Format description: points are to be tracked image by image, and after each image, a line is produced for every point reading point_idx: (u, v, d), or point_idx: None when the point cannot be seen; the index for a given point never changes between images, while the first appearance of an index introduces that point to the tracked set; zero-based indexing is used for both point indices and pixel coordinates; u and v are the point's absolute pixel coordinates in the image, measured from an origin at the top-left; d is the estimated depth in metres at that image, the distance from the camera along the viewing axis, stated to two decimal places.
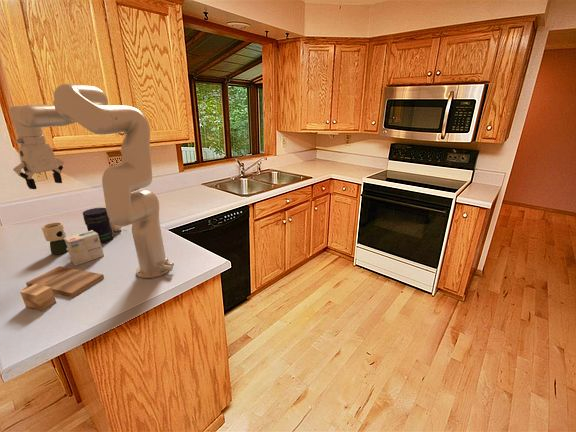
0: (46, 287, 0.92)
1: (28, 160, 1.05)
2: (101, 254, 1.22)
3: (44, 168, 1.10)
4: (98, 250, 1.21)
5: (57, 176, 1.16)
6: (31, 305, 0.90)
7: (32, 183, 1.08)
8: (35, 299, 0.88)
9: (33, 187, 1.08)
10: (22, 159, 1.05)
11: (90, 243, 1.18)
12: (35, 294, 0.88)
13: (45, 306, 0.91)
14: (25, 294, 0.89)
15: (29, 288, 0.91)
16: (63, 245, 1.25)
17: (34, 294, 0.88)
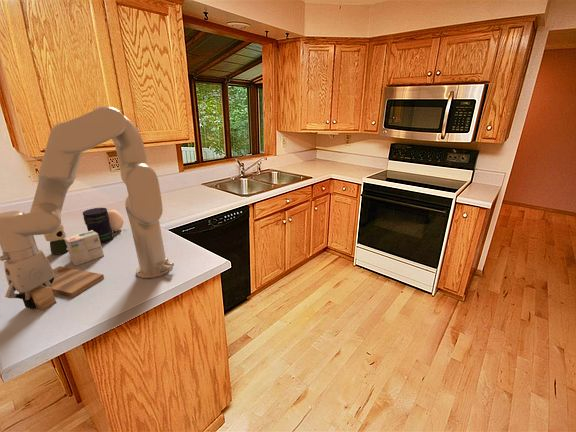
0: (46, 287, 0.91)
1: (16, 280, 0.83)
2: (101, 254, 1.22)
3: (36, 283, 0.88)
4: (98, 250, 1.21)
5: None
6: None
7: (31, 303, 0.89)
8: (35, 299, 0.88)
9: (32, 307, 0.89)
10: (8, 278, 0.84)
11: (90, 243, 1.18)
12: (35, 294, 0.88)
13: (45, 306, 0.90)
14: None
15: None
16: (63, 245, 1.25)
17: (34, 294, 0.88)
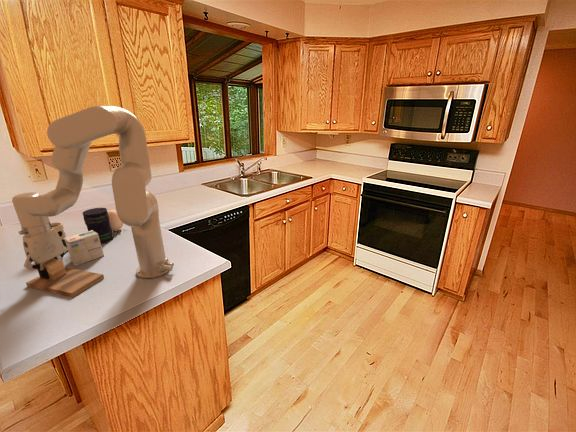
0: (58, 260, 1.05)
1: (33, 251, 0.97)
2: (101, 254, 1.22)
3: (50, 256, 1.01)
4: (98, 250, 1.21)
5: None
6: None
7: (45, 273, 1.02)
8: (48, 269, 1.02)
9: (46, 277, 1.02)
10: (26, 250, 0.97)
11: (90, 243, 1.18)
12: (48, 265, 1.01)
13: (57, 276, 1.04)
14: None
15: None
16: None
17: (47, 265, 1.01)
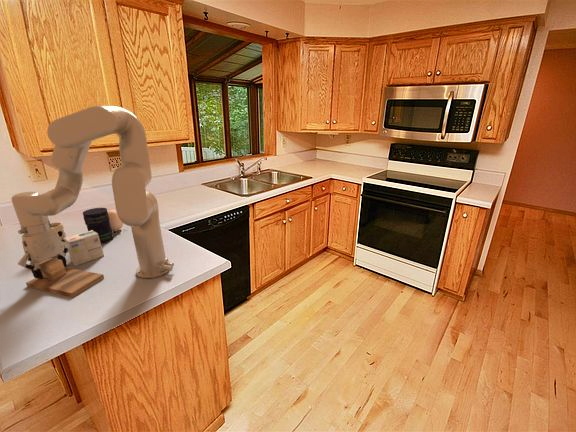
0: (57, 260, 1.05)
1: (32, 251, 0.96)
2: (101, 254, 1.22)
3: (49, 255, 1.01)
4: (98, 250, 1.21)
5: (62, 260, 1.08)
6: (44, 275, 1.03)
7: (38, 273, 1.00)
8: (48, 269, 1.02)
9: (39, 277, 1.01)
10: (26, 249, 0.97)
11: (90, 243, 1.18)
12: (48, 265, 1.01)
13: (57, 276, 1.04)
14: (39, 265, 1.02)
15: None
16: None
17: (47, 265, 1.01)
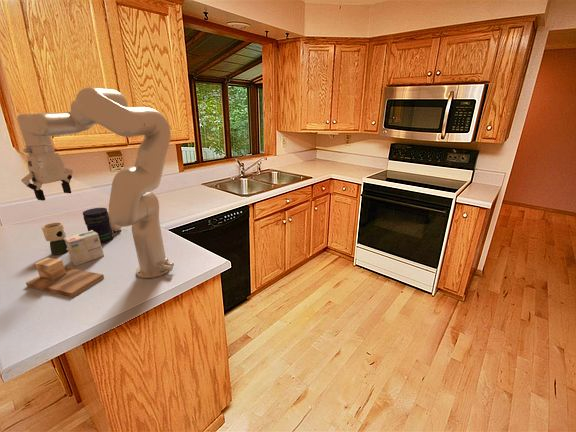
0: (57, 260, 1.05)
1: (37, 170, 1.00)
2: (101, 254, 1.22)
3: (53, 178, 1.05)
4: (98, 250, 1.21)
5: (66, 186, 1.11)
6: (44, 275, 1.03)
7: (41, 194, 1.03)
8: (48, 269, 1.02)
9: (42, 198, 1.04)
10: (30, 169, 1.00)
11: (90, 243, 1.18)
12: (48, 265, 1.01)
13: (57, 276, 1.04)
14: (39, 265, 1.02)
15: (43, 260, 1.04)
16: (63, 245, 1.25)
17: (47, 265, 1.01)
